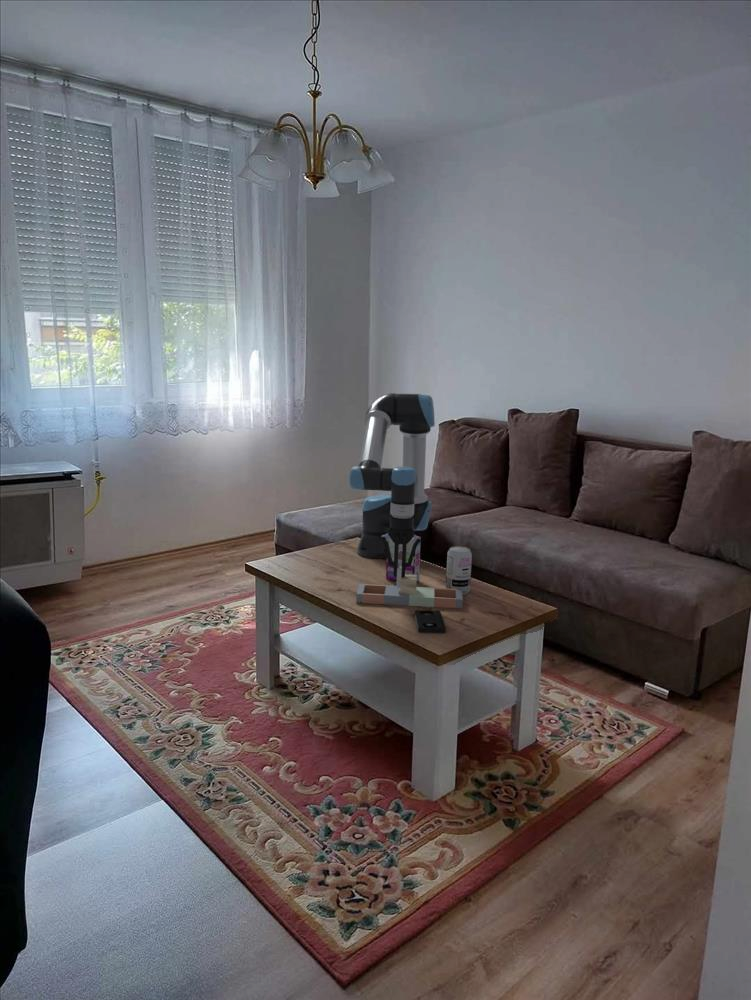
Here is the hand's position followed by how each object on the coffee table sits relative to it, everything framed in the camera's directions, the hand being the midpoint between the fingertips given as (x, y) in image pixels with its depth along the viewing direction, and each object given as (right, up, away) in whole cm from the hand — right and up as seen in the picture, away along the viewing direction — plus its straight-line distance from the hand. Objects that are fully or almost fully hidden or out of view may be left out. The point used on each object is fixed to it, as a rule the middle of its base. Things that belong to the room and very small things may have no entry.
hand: (398, 586), depth 234 cm
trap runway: (+4, -5, +1) cm, 6 cm away
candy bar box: (+2, -1, +21) cm, 21 cm away
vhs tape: (+9, -10, -18) cm, 22 cm away
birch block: (+3, -2, 0) cm, 4 cm away
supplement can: (+20, -3, +11) cm, 23 cm away
